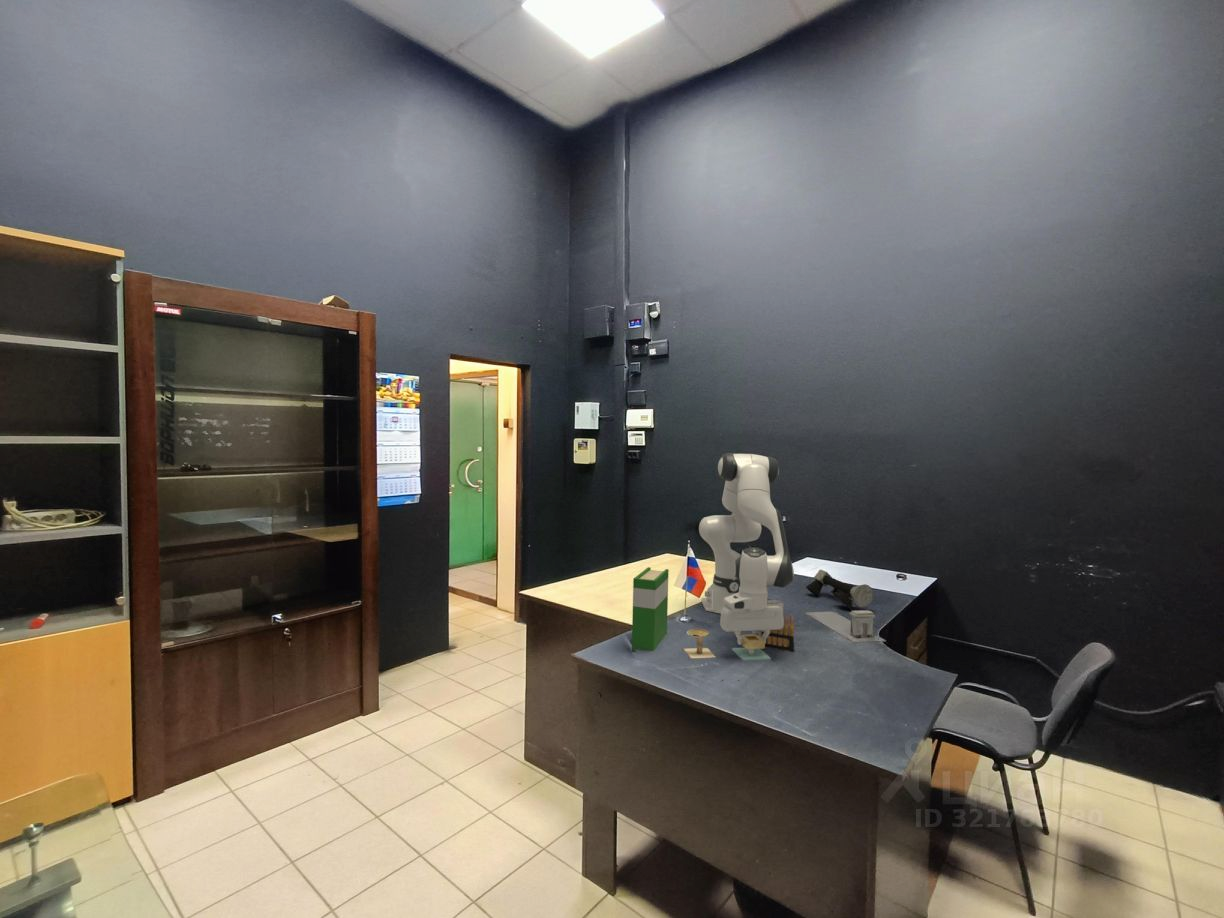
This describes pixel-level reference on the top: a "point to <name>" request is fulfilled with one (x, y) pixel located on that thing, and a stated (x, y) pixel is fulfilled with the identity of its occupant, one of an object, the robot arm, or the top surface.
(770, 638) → the ammunition clip
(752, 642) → the tan tray
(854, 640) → the triumphal arch model
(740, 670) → the top surface
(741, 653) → the mint green base plate
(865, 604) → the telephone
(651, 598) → the hardback book
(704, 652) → the stand
